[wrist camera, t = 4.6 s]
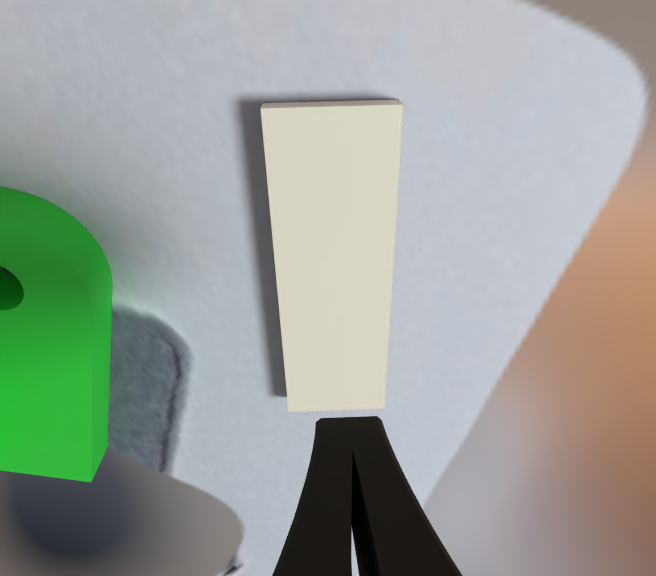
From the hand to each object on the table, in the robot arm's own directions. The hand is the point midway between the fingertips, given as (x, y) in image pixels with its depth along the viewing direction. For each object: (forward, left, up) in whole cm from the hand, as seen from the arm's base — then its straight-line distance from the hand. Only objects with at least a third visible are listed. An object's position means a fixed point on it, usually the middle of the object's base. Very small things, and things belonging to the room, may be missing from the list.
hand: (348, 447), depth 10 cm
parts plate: (0, 0, -8) cm, 8 cm away
